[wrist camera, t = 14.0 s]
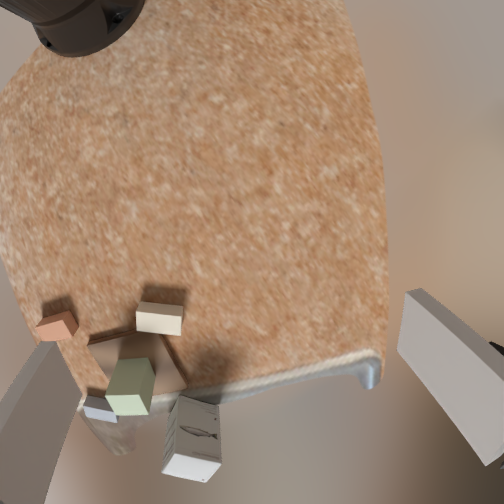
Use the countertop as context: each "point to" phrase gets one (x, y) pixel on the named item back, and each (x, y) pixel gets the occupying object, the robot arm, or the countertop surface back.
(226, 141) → the countertop surface
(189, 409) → the supplement box
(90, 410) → the slate brick
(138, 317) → the cream brick
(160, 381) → the walnut board
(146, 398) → the sage brick
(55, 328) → the terracotta brick
